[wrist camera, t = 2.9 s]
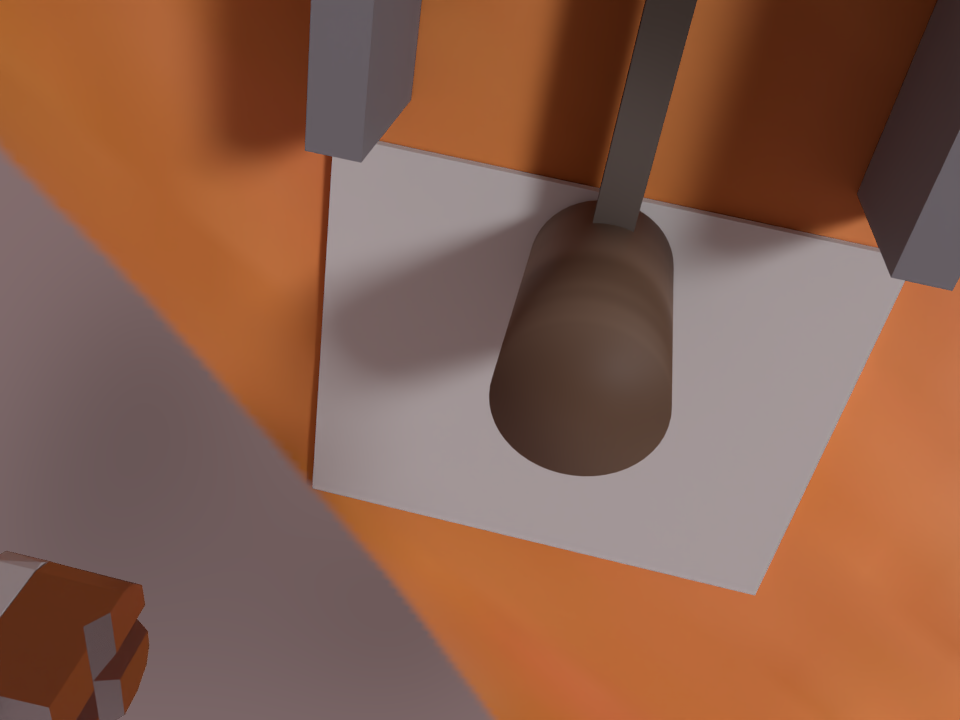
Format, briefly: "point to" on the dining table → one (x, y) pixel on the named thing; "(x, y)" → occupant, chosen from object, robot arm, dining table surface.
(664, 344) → the corded block
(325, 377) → the mat
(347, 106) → the lane organiser
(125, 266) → the dining table surface
